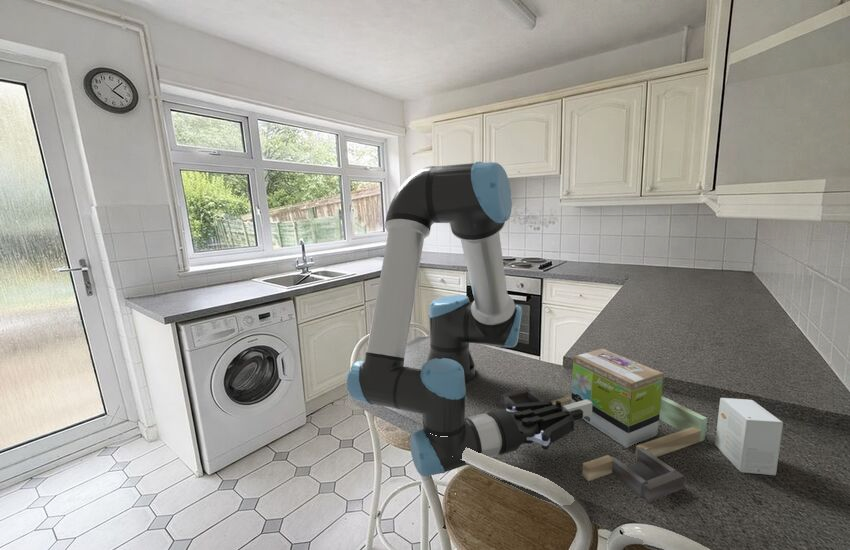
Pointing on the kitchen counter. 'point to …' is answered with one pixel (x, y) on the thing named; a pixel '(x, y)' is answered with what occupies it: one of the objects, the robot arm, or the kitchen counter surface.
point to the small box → (748, 436)
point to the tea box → (618, 395)
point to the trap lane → (641, 449)
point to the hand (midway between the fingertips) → (589, 406)
